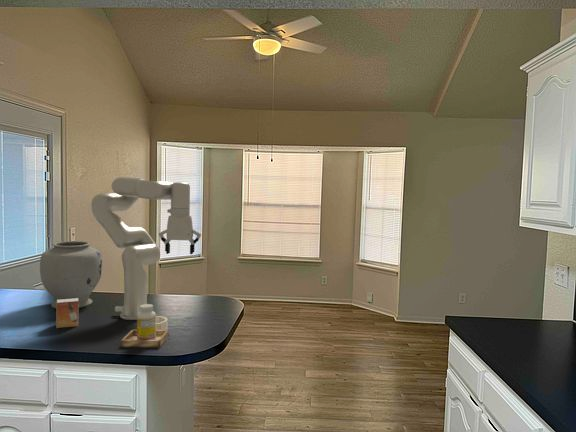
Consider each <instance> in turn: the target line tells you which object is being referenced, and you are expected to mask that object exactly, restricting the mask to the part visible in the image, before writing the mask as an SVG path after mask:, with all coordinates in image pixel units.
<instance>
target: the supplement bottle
mask: <svg viewBox="0 0 576 432" xmlns="http://www.w3.org/2000/svg"><path fill="white" fill-rule="evenodd" d="M140 310H141V311H140V312H139V313H138V315H137V320H136V329H137V340H154V339H155V338H156V316H157V314H156V312H155V311H154V305H153V304H150V303H147V304H144V305H141V306H140Z"/></svg>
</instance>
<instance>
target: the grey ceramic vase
mask: <svg viewBox="0 0 576 432" xmlns="http://www.w3.org/2000/svg"><path fill="white" fill-rule="evenodd" d="M90 245H91V243H90V242H88V241H81V240H80V241H79V240H77V241H76V240H71V241H70V240H68V241H67V240H66V241H57V242H55V243H53V244H52V246H53V247H52V248H49V249H47V250H45V251H43V252H42V254H41V255H40V258H39V259H40V260H39V261H40V262H39V274H40V280H41V283H42V285H43V288H44V289H45V290H46V291H47V292H48V294H49V295H50V296H51V297H52V298H54V301H53V302H52V303H51V308H53V309H57V300H62V299H74V298H78V304H79V308H78V309H80V308H84V307H88V306H90V305H92V304H93V299H92V298H89V297H90V295H91V294H92V292H94V290H95V288H96V287H97V286H98V284H99V282H100V280H101V278H102V277H101V276H102V271H103V257H102V254H101V253H102V252H101V251H100V250H99V249H97V248H94V247H91V246H90Z"/></svg>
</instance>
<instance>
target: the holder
mask: <svg viewBox="0 0 576 432" xmlns="http://www.w3.org/2000/svg"><path fill="white" fill-rule="evenodd" d="M156 330H169V319H168V318H167V317H166V316H160V315H156Z"/></svg>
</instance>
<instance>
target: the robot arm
mask: <svg viewBox="0 0 576 432" xmlns="http://www.w3.org/2000/svg"><path fill="white" fill-rule="evenodd" d="M111 189H112V192H102V193H101V192H100V193H98V194H96V195H95V196H94V197H93V198H92V200H91V202H90V203H91V204H90V205H91V206H90V208H91V212H92V215H93V217H94V218H95V219H96V221H97V222H98V224H100V225H101V227H102V228H103V229H104V230H105V232H106V234H107V235H108V236H109V238H110V239H111V241H112V242H113V244H114V245H115V246H116V247H117V248H119V249H124V250H123V251H122V254H121V261H122V267H123V282H124V283H123V285H124V286H123V287H124V288H123V289H124V290H123V291H124V292H123V293H124V295H123V297H124V298H123V300H124V301H123V305H122V306H120V305H119V306H115V307H114V311H115V312H117V313H119V312H121V313H120V314H119V315H120V318H121V319H122V320H127V321H137V315H138V313H139V312H140V311H141V310H140V306H141V305H144V304H148V301H147V300H148V276H147V272H146V271H145V268H144V267H145V266H148V265H154V264H156V263H157V262H159V260H160V258H161V251H160V248H159V246H158V245H157V243H156V242H155V240H154V239H153V238H152V236H151V235H150V234H149V232H148V231H147V230H146V229H145V228H143V227H141V226H128V225H127V224H126V223H125V222H124V220H123V218H121V217H120V216H119V215H118V214H116V213H114V212H123V211H127V210H129V209H130V208H132V206H133V205H134V204H135V203H136V202H137V201H138V199H143V200H144V199H145V200H154V201H155V200H156V201H157V200H158V201H159V200H160V201H161V200H162V201H163V200H164V201H166V200H167V201H168V200H169V201H170V209H167V211H166V212H167V214H170V215H168V218H167V223H166V224H167V225H166V229H164V230H163V231H161V232H158V237H159V238H160V241H162V242H163V243H164V248H165V249H164V251H165V254H166V255H168V254H170V253H171V244H170V242H171V241H188V242H189V243H190V245H189V255H193V254H194V253H195V248H196V247H195V244H197V242H198V241H199V240H200V238H201V237H202V233H200V232H199V231H197V230H194V228H193V225H194V224H193V219H192V216H191V214H190V213H191V212H190V211H191V210H190V207H191V201H190V200H191V185H190V183H188V182H182V181H181V182H178V181H177V182H173V181H161V180H159V181H158V180H157V181H155V180H146V179H144V178H140V177H130V176H120V177H117V178H115V179H113V181H112V182H111ZM165 234H166V238H165V236H164V235H165ZM194 235H195V236H196V238H195V239H194V238H193V237H194Z"/></svg>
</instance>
